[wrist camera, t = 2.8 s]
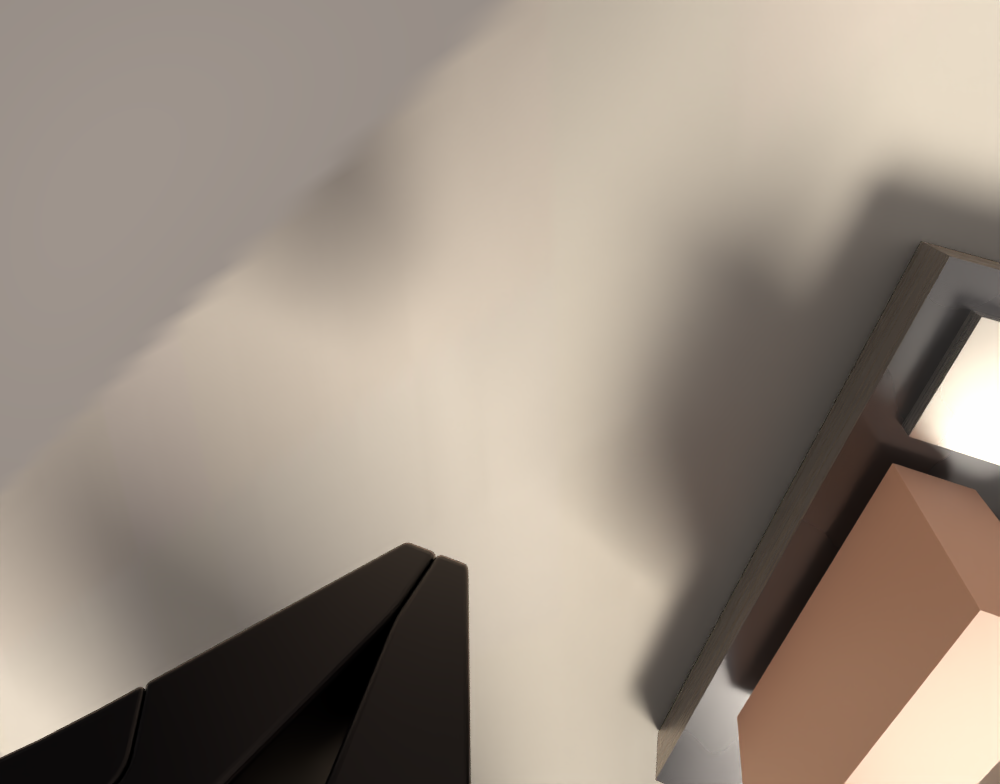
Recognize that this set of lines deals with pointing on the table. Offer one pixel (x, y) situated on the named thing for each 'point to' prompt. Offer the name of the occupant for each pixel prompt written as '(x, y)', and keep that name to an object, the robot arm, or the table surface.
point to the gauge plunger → (890, 652)
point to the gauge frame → (853, 486)
